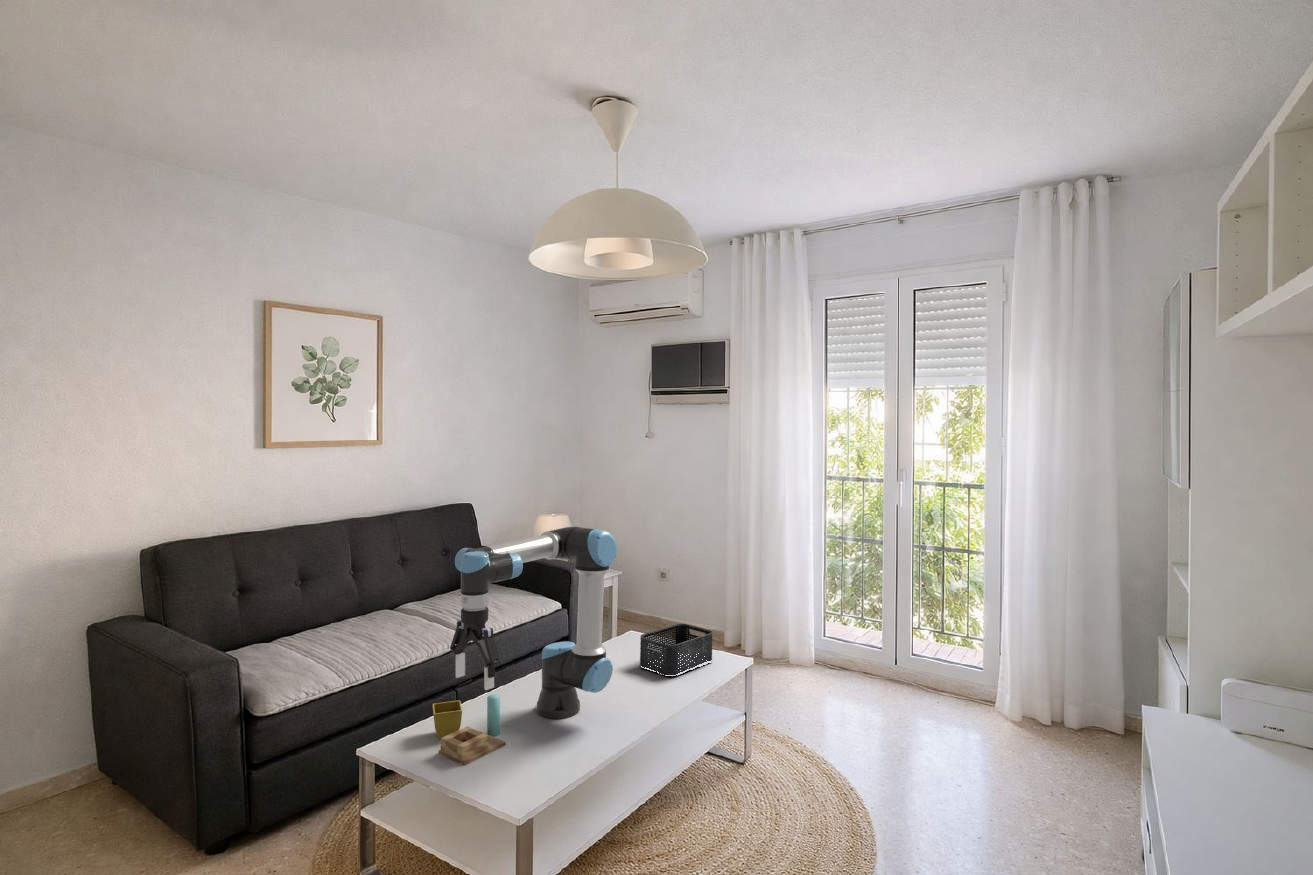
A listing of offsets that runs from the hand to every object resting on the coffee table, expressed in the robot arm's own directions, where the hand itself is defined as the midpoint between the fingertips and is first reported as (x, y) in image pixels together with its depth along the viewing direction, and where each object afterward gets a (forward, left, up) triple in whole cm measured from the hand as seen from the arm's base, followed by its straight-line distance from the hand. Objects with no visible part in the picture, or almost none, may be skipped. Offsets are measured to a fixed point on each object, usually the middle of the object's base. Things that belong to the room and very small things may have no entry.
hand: (474, 682), depth 193 cm
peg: (-22, -16, -27) cm, 38 cm away
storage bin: (-111, -4, -28) cm, 114 cm away
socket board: (-11, -13, -27) cm, 32 cm away
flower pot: (-12, -28, -27) cm, 41 cm away
